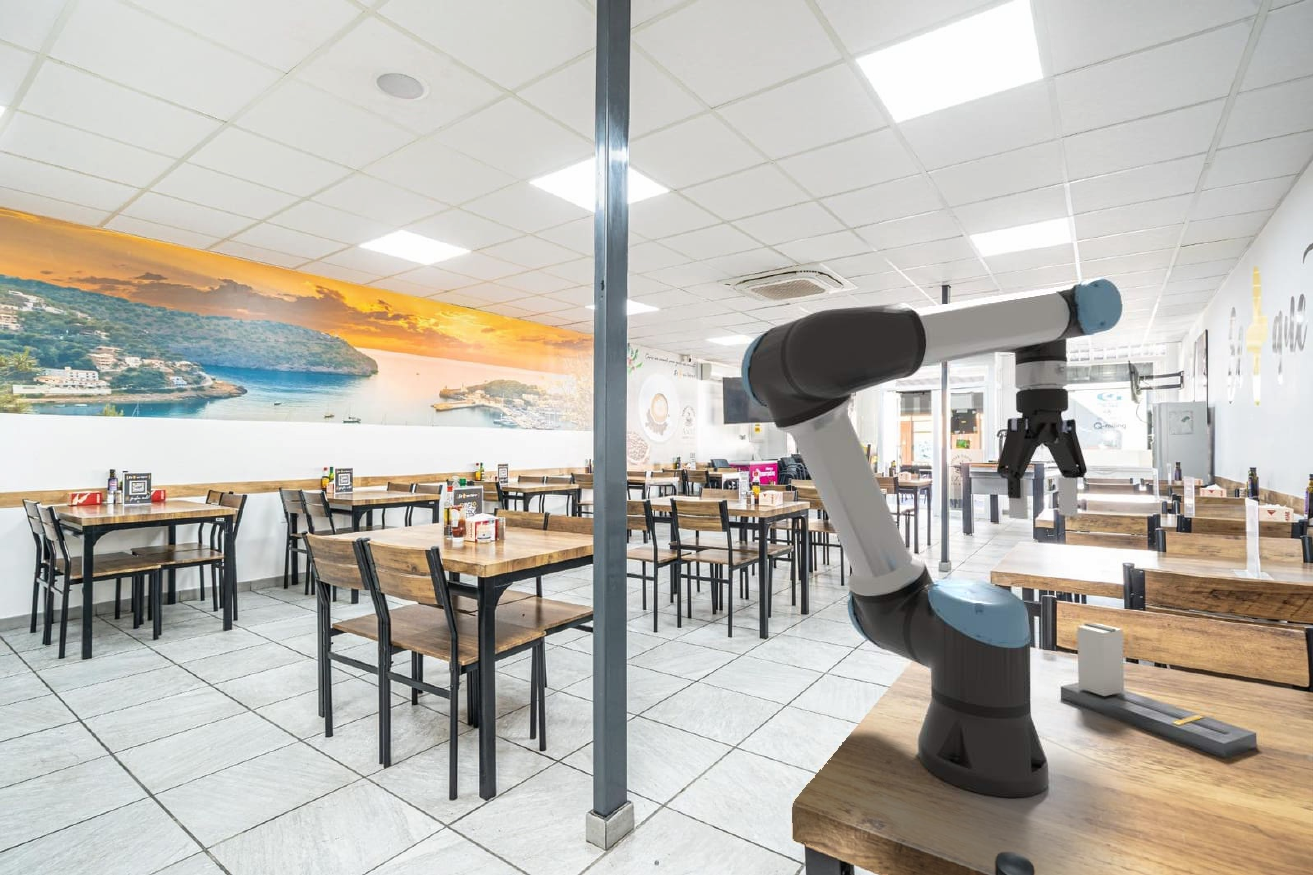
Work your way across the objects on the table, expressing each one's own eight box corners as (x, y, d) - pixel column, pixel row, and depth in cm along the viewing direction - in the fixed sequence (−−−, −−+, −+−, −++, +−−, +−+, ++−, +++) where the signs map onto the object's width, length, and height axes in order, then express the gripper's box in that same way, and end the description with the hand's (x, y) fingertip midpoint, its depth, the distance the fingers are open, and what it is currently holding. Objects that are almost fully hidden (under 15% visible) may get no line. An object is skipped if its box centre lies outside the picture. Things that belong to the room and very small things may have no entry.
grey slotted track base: (1060, 698, 102) (1060, 685, 102) (1091, 691, 106) (1091, 678, 106) (1224, 758, 82) (1224, 742, 82) (1256, 747, 85) (1256, 731, 85)
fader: (1078, 687, 101) (1077, 624, 102) (1097, 682, 103) (1096, 621, 104) (1104, 696, 98) (1103, 631, 98) (1124, 691, 99) (1122, 627, 100)
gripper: (1012, 383, 96) (1014, 522, 96) (1109, 389, 106) (1112, 515, 105) (971, 388, 103) (973, 517, 103) (1066, 393, 113) (1068, 512, 112)
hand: (1043, 517), depth 104 cm, fingers open, 12 cm apart
